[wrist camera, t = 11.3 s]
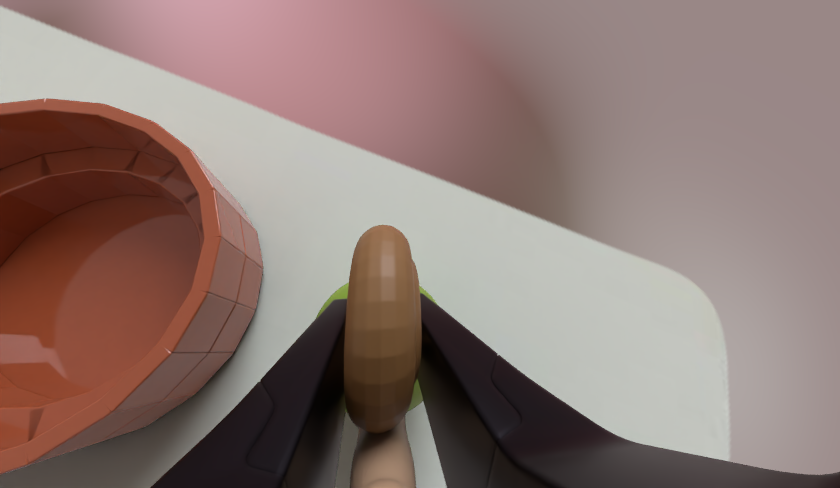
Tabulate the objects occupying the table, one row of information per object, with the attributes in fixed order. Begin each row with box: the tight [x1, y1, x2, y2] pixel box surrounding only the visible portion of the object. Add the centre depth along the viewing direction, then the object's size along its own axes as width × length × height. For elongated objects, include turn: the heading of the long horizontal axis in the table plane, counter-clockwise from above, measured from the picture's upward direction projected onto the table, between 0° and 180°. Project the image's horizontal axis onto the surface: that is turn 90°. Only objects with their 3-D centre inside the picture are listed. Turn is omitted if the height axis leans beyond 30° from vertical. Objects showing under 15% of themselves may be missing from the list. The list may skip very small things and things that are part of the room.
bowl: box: [0, 98, 263, 475], centre depth 12 cm, size 13×13×5 cm
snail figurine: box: [316, 225, 436, 488], centre depth 9 cm, size 5×6×12 cm
